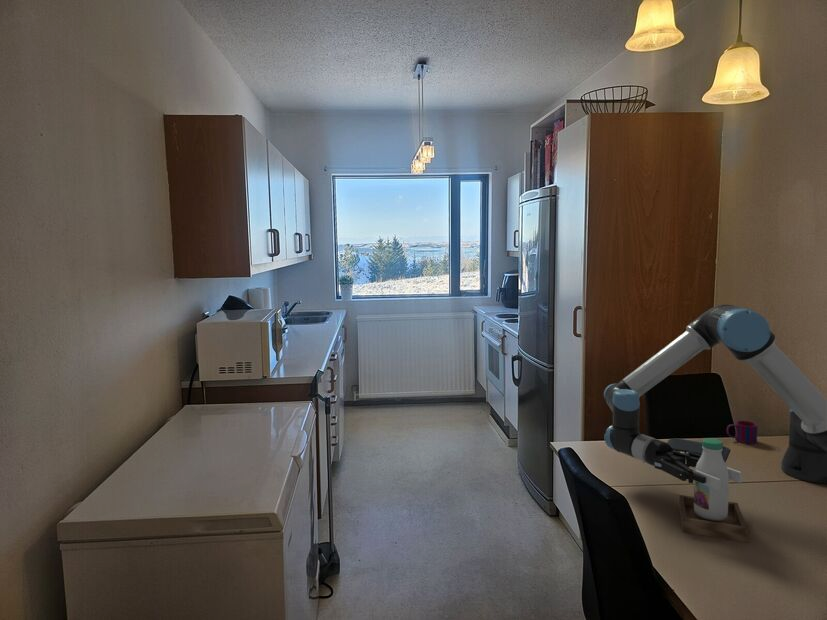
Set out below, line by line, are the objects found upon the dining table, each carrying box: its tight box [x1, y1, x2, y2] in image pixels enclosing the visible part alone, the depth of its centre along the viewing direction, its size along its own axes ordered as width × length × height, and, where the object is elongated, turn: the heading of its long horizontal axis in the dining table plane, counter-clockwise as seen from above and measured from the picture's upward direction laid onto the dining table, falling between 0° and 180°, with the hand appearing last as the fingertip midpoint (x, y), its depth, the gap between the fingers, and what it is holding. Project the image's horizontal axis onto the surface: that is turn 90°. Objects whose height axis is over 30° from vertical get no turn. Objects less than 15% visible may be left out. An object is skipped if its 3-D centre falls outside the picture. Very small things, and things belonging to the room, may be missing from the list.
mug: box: [726, 420, 758, 445], centre depth 190 cm, size 7×10×7 cm
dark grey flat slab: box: [666, 437, 731, 463], centre depth 184 cm, size 20×2×15 cm
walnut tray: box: [678, 494, 748, 543], centre depth 135 cm, size 14×14×4 cm
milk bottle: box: [693, 437, 730, 521], centre depth 134 cm, size 8×8×20 cm
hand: (730, 481), depth 129 cm, fingers closed on milk bottle, 7 cm apart
